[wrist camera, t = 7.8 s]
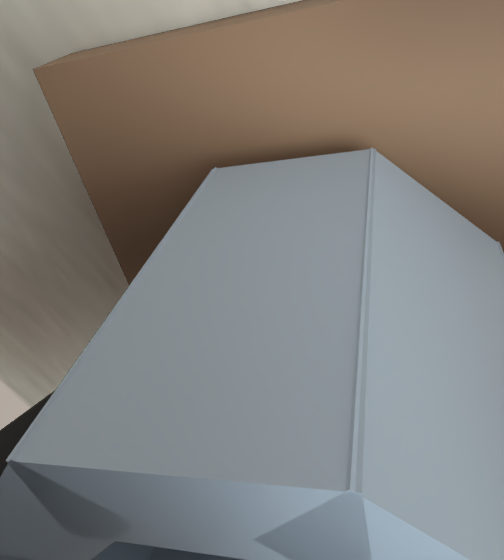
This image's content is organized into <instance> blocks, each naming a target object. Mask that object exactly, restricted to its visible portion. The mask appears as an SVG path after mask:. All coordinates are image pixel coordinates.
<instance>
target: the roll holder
mask: <svg viewBox="0 0 504 560" xmlns="http://www.w3.org/2000/svg"><path fill="white" fill-rule="evenodd" d="M33 71H34V73H35V75H36V78H37V80H38V82H39V84H40V87H41V89H42V91H43V93H44V95H45V98H46V100H47V102H48V104H49V107H50V109H51V111H52V113H53V116H54V118H55V120H56V122H57V125H58V127H59V129H60V131H61V134H62V136H63V138H64V140H65V142H66V145H67V147H68V149H69V151H70V154H71V156H72V158H73V160H74V163H75V165H76V167H77V169H78V172H79V174H80V176H81V178H82V181H83V183H84V185H85V187H86V189H87V192H88V194H89V196H90V198H91V201H92V203H93V205H94V207H95V210H96V212H97V214H98V216H99V219H100V221H101V223H102V225H103V228H104V230H105V232H106V234H107V236H108V239H109V241H110V243H111V245H112V248H113V250H114V252H115V254H116V257H117V259H118V261H119V263H120V266H121V268H122V270H123V272H124V275H125V277H126V279H127V281H128V283H129V286H130V284H131V283H132V281H133V280H134V278H135V277H136V276H137V274H138V273H139V271H140V270H141V269H142V267H143V266H144V264H145V263H146V262H147V260H148V259H149V257H150V256H151V254H152V253H153V252H154V250H155V249H156V247H157V246H158V245H159V243H160V242H161V240H162V239H163V238H164V236H165V235H166V233H167V232H168V230H169V229H170V228H171V226H172V225H173V223H174V222H175V221H176V219H177V218H178V216H179V215H180V214H181V212H182V211H183V209H184V208H185V206H186V205H187V204H188V202H189V201H190V199H191V198H192V197H193V195H194V194H195V192H196V191H197V190H198V188H199V187H200V185H201V184H202V182H203V181H204V180H205V178H206V177H207V175H208V174H209V173H210V171H211V170H212V169H214V168H215V167H216V168H223V167H231V166H239V165H247V164H255V163H263V162H271V161H279V160H287V159H295V158H303V157H311V156H319V155H327V154H335V153H343V152H351V151H359V150H367V149H370V148H371V147H372V148H373V149H375V148H376V151H377V152H378V153H380V154H381V155H382V156H384V157H385V158H386V159H388V160H389V161H390V162H392V163H393V164H394V165H396V166H397V167H398V168H400V169H401V170H402V171H404V172H405V173H406V174H408V175H409V176H410V177H412V178H413V179H414V180H416V181H417V182H418V183H419V184H421V185H422V186H423V187H425V188H426V189H427V190H429V191H430V192H431V193H433V194H434V195H435V196H437V197H438V198H439V199H441V200H442V201H443V202H445V203H446V204H447V205H449V206H450V207H451V208H453V209H454V210H455V211H457V212H458V213H459V214H461V215H462V216H463V217H465V218H466V219H467V220H468V221H470V222H471V223H472V224H474V225H475V226H476V227H478V228H479V229H480V230H482V231H483V232H484V233H486V234H487V235H488V236H490V237H491V238H492V239H494V240H495V241H496V242H500V245H501V247H502V250H503V253H504V0H303V1H298V2H294V3H289V4H285V5H281V6H276V7H272V8H268V9H263V10H259V11H255V12H250V13H246V14H241V15H237V16H233V17H228V18H224V19H220V20H215V21H211V22H206V23H202V24H198V25H193V26H189V27H185V28H180V29H176V30H171V31H167V32H163V33H158V34H154V35H150V36H145V37H141V38H136V39H132V40H128V41H123V42H119V43H115V44H110V45H106V46H101V47H97V48H93V49H88V50H84V51H80V52H75V53H71V54H69V55H67V56H64V57H62V58H59V59H57V60H55V61H52V62H50V63H47V64H45V65H42V66H40V67H38V68H35V69H33Z"/></svg>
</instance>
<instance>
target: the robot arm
mask: <svg viewBox="0 0 504 560" xmlns="http://www.w3.org/2000/svg"><path fill="white" fill-rule="evenodd" d="M53 393H54V391H53V392H52V393H51V394H49V395H48V396H47V397H45V398H44V399H43V400H41V401H40V402H38V403H37V404H36V405H34V406H33V407H32V408H30V409H29V410H28V411H26V412H25V413H23V414H22V415H21V416H19V417H18V418H17V419H15V420H14V421H12V422H11V423H10V424H8V425H7V426H6V427H4V428H3V429H1V430H0V477H1V475H2V473H3V471H4V470H5V468H6V466H7V464H8V463H7V462H6V459H7V458H8V456H9V455H10V454H11V452H12V451H13V449H14V448H15V446H16V445H17V444H18V442H19V441H20V439H21V438H22V437H23V435H24V434H25V432H26V431H27V430H28V428H29V427H30V425H31V424H32V422H33V421H34V420H35V418H36V417H37V415H38V414H39V413H40V411H41V410H42V408H43V407H44V406H45V404H46V403H47V401H48V400H49V398H50V397H51V396H52V394H53Z"/></svg>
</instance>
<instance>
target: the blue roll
mask: <svg viewBox="0 0 504 560" xmlns="http://www.w3.org/2000/svg"><path fill="white" fill-rule="evenodd" d="M6 462H7V463H8V464H7V466H6V468H5V470H4V471H3V473H2V475H1V477H0V560H504V253H503V250H502V247H501V245H500V242H496V241H495V240H494V239H492V238H491V237H490V236H488V235H487V234H486V233H484V232H483V231H482V230H480V229H479V228H478V227H476V226H475V225H474V224H472V223H471V222H470V221H468V220H467V219H466V218H465V217H463V216H462V215H461V214H459V213H458V212H457V211H455V210H454V209H453V208H451V207H450V206H449V205H447V204H446V203H445V202H443V201H442V200H441V199H439V198H438V197H437V196H435V195H434V194H433V193H431V192H430V191H429V190H427V189H426V188H425V187H423V186H422V185H421V184H419V183H418V182H417V181H416V180H414V179H413V178H412V177H410V176H409V175H408V174H406V173H405V172H404V171H402V170H401V169H400V168H398V167H397V166H396V165H394V164H393V163H392V162H390V161H389V160H388V159H386V158H385V157H384V156H382V155H381V154H380V153H378V152H377V151H376V148H375V149H373V148H372V147H371V148H370V149H367V150H359V151H351V152H343V153H335V154H327V155H319V156H311V157H303V158H295V159H287V160H279V161H271V162H263V163H255V164H247V165H239V166H231V167H223V168H216V167H215V168H214V169H212V170H211V171H210V173H209V174H208V175H207V177H206V178H205V180H204V181H203V182H202V184H201V185H200V187H199V188H198V190H197V191H196V192H195V194H194V195H193V197H192V198H191V199H190V201H189V202H188V204H187V205H186V206H185V208H184V209H183V211H182V212H181V214H180V215H179V216H178V218H177V219H176V221H175V222H174V223H173V225H172V226H171V228H170V229H169V230H168V232H167V233H166V235H165V236H164V238H163V239H162V240H161V242H160V243H159V245H158V246H157V247H156V249H155V250H154V252H153V253H152V254H151V256H150V257H149V259H148V260H147V262H146V263H145V264H144V266H143V267H142V269H141V270H140V271H139V273H138V274H137V276H136V277H135V278H134V280H133V281H132V283H131V284H130V286H129V287H128V288H127V290H126V291H125V293H124V294H123V295H122V297H121V298H120V300H119V301H118V302H117V304H116V305H115V307H114V308H113V310H112V311H111V312H110V314H109V315H108V317H107V318H106V319H105V321H104V322H103V324H102V325H101V326H100V328H99V329H98V331H97V332H96V334H95V335H94V336H93V338H92V339H91V341H90V342H89V343H88V345H87V346H86V348H85V349H84V350H83V352H82V353H81V355H80V356H79V358H78V359H77V360H76V362H75V363H74V365H73V366H72V367H71V369H70V370H69V372H68V373H67V374H66V376H65V377H64V379H63V380H62V382H61V383H60V384H59V386H58V387H57V389H56V390H55V391H54V393H53V394H52V396H51V397H50V398H49V400H48V401H47V403H46V404H45V406H44V407H43V408H42V410H41V411H40V413H39V414H38V415H37V417H36V418H35V420H34V421H33V422H32V424H31V425H30V427H29V428H28V430H27V431H26V432H25V434H24V435H23V437H22V438H21V439H20V441H19V442H18V444H17V445H16V446H15V448H14V449H13V451H12V452H11V454H10V455H9V456H8V458H7V459H6Z"/></svg>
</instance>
